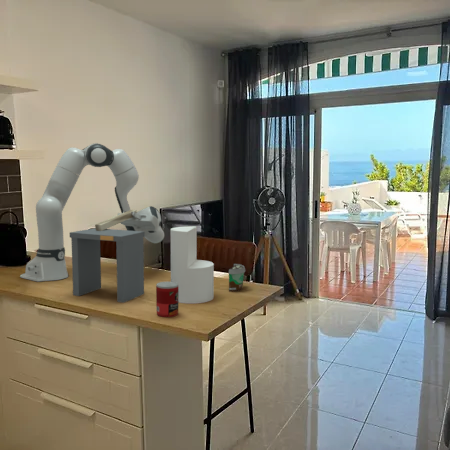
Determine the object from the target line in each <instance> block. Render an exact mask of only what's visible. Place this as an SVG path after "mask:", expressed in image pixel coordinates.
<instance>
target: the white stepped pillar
mask: <svg viewBox="0 0 450 450" xmlns="http://www.w3.org/2000/svg"><path fill="white" fill-rule="evenodd" d="M197 233H198V232H197V226H196V225H195V226H192V225H191V226H176V227H172V228H170V282H176V283H178V303H180V304H193V305H194V304H203V303H207V302H210V301H212V300H214V298H215V297H214V296H215V295H214V290H215V289H214V286H215V285H214V281H215V278H214V277H215V276H214V275H215V274H214V272H215V271H214V269H215V267H214V266H215V263H213V262H212V261H209V260H202V259H197V255H198V254H197V252H198V250H197V248H198V247H197V245H198V243H197V242H198V241H197V238H198V237H197V235H198V234H197Z"/></svg>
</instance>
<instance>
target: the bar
mask: <svg viewBox="0 0 450 450" xmlns="http://www.w3.org/2000/svg"><path fill="white" fill-rule="evenodd" d="M131 212H135V213H137V212H138V211H137V209H130V210H129V211H127V212H125V213H122V214H120V215H118V214H117V215H115V216H113V217H110V218H108V219H106V220H103V221H101V222H98V223H96V224H94V228H96V231H103V230H105V229H110V228H112V227H114V226H116V225H119V224H121V222H123V221H125V220H128V219H130V218H132V217H133V216H131Z"/></svg>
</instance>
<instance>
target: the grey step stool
mask: <svg viewBox="0 0 450 450" xmlns="http://www.w3.org/2000/svg"><path fill="white" fill-rule="evenodd" d="M144 237H145V232H142V231H128V230H127V229H112V228H111V229H110V228H107V229H105V230H103V231H96V228H95V227H94V228H89V229H84V230H76V231H71V232H70V231H69V238H71V265H72V266H71V267H72V295H73V296H76V297H80V296H83V295H86V294H88V293H92V292H94V291H97V290H101V289H102V269H101V268H102V266H101V264H102V263H101V262H102V261H101V259H102V258H101V257H102V256H101V241H105V242H106V241H109V242H116V243H115V244H116V288H117V289H116V290H117V291H116V294H117V298H116V299H117V302H118V303H123V304H124V303H127V302H130V301H131V300H133V299H135V298H138V297H140V296H142V295H143V296H144V295H145V269H144V268H145V265H144V263H145V259H144V258H145V255H144V254H145V253H144V251H145V250H144V247H145V246H144Z"/></svg>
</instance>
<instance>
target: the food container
mask: <svg viewBox="0 0 450 450" xmlns="http://www.w3.org/2000/svg"><path fill="white" fill-rule="evenodd" d="M245 272H246V268H245V266H244V265H242V264H241V263H233V266H232V267H231V268H229V269H228V292H229V293H230V292H232V293H233V292H240V291H242V290H243V289H244V288H243V287H244V277H245V276H244V275H245Z"/></svg>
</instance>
